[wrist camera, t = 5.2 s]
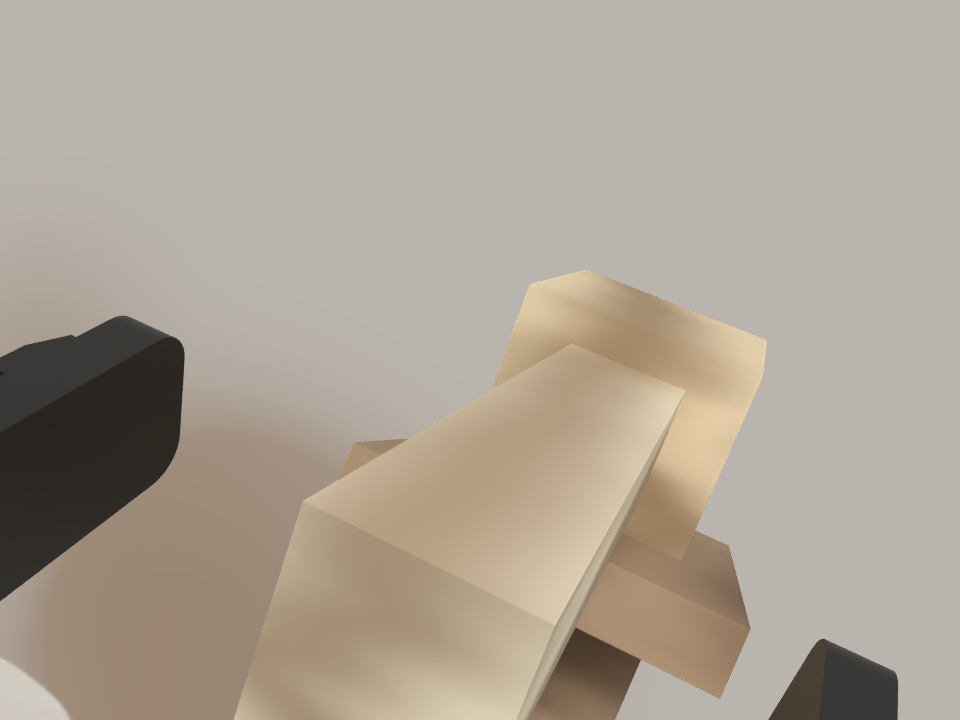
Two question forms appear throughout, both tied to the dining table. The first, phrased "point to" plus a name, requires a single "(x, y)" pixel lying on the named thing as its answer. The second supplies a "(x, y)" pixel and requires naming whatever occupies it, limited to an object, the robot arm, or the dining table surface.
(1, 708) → the dining table surface
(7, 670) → the dining table surface
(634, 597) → the stand
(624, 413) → the mallet
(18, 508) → the robot arm
